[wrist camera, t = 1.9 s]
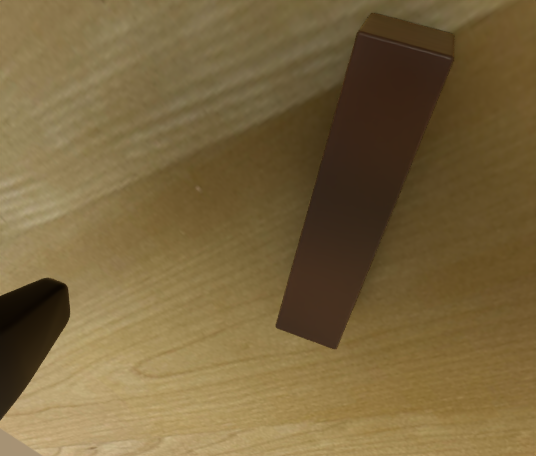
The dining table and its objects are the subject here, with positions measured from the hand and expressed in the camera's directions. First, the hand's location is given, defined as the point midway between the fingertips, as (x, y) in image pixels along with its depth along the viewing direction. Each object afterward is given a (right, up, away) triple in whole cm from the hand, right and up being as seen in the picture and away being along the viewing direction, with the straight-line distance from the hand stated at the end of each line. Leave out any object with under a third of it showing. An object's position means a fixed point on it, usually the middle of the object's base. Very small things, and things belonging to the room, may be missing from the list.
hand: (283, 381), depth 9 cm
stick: (+2, +4, +7) cm, 8 cm away
